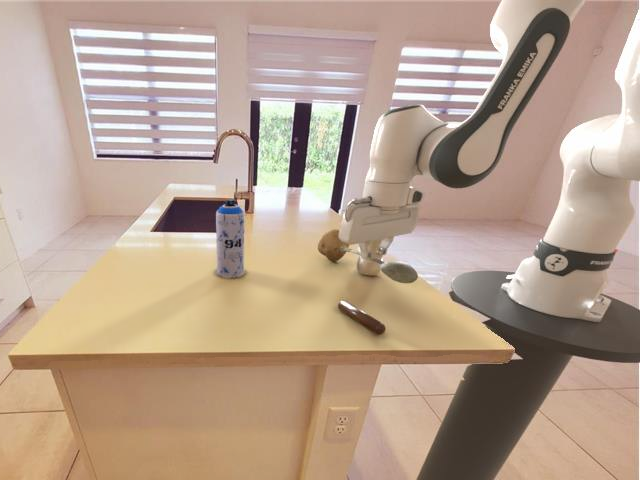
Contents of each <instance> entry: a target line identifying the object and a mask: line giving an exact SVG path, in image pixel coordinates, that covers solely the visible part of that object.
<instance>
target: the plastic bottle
mask: <svg viewBox="0 0 640 480" xmlns="http://www.w3.org/2000/svg"><path fill="white" fill-rule="evenodd" d="M382 240H383V239H378V240H373V241H371V242H370V245H369V246H368V249H369V251H371V252H372V253H371V255H370V256H371V257H374V258H376V259H379V260H381V261H383V257H384V255H383V256H379V255H377V254H376V251H377V247H379V246H380V244H381V242H382ZM380 266H381V264H379V263H377V262H375V261H373V260H371V259H365V260H364V259H362V258H360V256H359V257H358V258H357V262H356V270H357V272H359V273H360V274H362V275H365V276H377V275H378V274H379V273H380V272H382V271H381V269H380Z"/></svg>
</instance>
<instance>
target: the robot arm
mask: <svg viewBox="0 0 640 480" xmlns="http://www.w3.org/2000/svg"><path fill="white" fill-rule="evenodd" d="M586 2H587V0H501V1H500V3H499V5H498V7H497V8H496V10H495V13H494V16H493V17H492V20H491V23H490V27H489V28H490V29H489V32H490V38H491V42H492V43H493V45H494V47H495V48H496V50H498V51H499V52H501V53H502V54H503V59H502V62H501V65H500V67H499V69H498V70H497V72H496V74H495V75H494V77H493V78H492V80H491V82H490V84H489V86H488V87H487V89H486V90H485V92H484V94H483V96H482V97H481V99H480V101H479V102H478V104H477V106H476V107H475V110H474V111H473V112H472V113H471V114H470V115H469V117H467V118H466V119H465V120H464V121H462V122H461V123H459V124H449V122H446V121H443V120H441V119H440V118H438V117H436V116H434V115H433V114H432V113H430V112H429V111H428V110H427V109H426V107H425V106H424V105H423V104H412V105H411V104H410V105H407V106H402V107H396V108H392V109H389V110H387V111H385V112H384V113H382V114H381V116H380V117H379V119H378V121H377V123H376V126H375V129H374V133H373V137H372V141H371V146H370V152H369V169H368V171H367V174H366V176H365V181H364V188H363V191H362V197H359V198H358V197H357V198H353V199H351V201H349V202H348V204H346V206H345V210H344V213H343V215H342V219H341V221H340V227H339V229H338V230H339V239H340V241H342V242H344V243H346V244H349V246H351V245H357V244H358V247H359V250H360V255H359V257H360V258H362V259H364V260H365V259H369V258H371V256H370V255H371V253H372V252H371V251H369V249H368V246H369V245H370V242H371V241H373V240H378V239H383V240H382V242H381V244H380V246H379V247H377V251H376V254H377V255H379V256H383V257H384V256H386V255H387V253H388V249H389V247H390V246H391V245H392V243H393V241H394V238H395V237H398V236H404V235H408V234H412V233H413V231H414V230H415V229H416V227H417V224H418V220H419V217H420V214H421V204H420V203H422V202H423V201H424V200H425V195H426V194H425V192H424V191H423V190H420V189H418V188H415V187H413V186H412V183H413V179H414V177H415V176H422V177H424V178H427V179H429V180H432V181H436V182H438V183H439V184H442V185H443V186H445V187H447V188H451V189H466V188H470V187H473V186H474V185H476V184H478V183H480V182H481V181H483V180H484V179H486V178H487V177H488V176H489V175H490V174H491V173H492V172H493V171H494V170H495V168H496V167H497V165H498V163H500V160H501V158H502V156H503V154H504V150H505V148H506V144H507V142H508V140H509V137H510V135H511V133H512V131H513V128H515V125H516V124H517V122H518V120H519V118H520V117H521V115H522V114H523V112H524V111H525V109H526V108H527V106H528V104H529V103H530V101H531V100H532V98H533V97H534V95H535V93H536V91H537V90H538V89H539V87H540V86H541V84H542V82H543V81H544V79H545V78H546V76H547V75H548V72H549V71H550V70H551V68H552V66H553V65H554V63H555V61H556V59H557V58H558V56H559V54H560V53H561V51H562V49H563V47H564V45H565V43H566V41H567V39H568V36H569V33H570V31H571V30H570V29H571V24H572V22H573V20H574V19H575V18H576V16H577V15H578V13H579V12H580V11H581V9H582V7H583V6H584V4H585V3H586ZM614 80H615V82H616V84H617V85H618V86H619V88H620V90H621V96H622V99H621V100H622V101H621V112H620V113H614V114H608V115H604V116H600V117H597V118H594V119H591V120H589V121H585V122H584V123H581V124H580V125H578V126H576V127H575V128H573V129H572V130H571V131H570V132H569V133H568V134H567V135H566V136H565V138H564V139H563V141H562V142H561V145H560V148H559V157H560V160H561V163H562V165H563V175H562V177H563V179H562V185H561V192H560V197H559V201H558V204H557V207H556V210H555V213H554V215H553V217H552V219H551V222H550V224H549V225H548V227H547V230H546V231H545V234H544V236H543V237H542V238H541V239H540V240H539V241H538V243H537V244H536V246H535V250H534V252H533V254H532V255H533V256H531V257H528V258H525V259H523V260H522V261H521V262H520V264H519V266H518V268H517V269H516V271H515V275H509V276H507V279H509V278H513V279H512V280H511V282H510V283H504V284H503V285H502V286H501V288H502V289H503V290H505V291H506V292H507V293H508V295H509V297H510V298H511V299H513V300H514V301H516V302H517V303H519V304H521V305H523V306H525V307H528V308H530V309H533V310H536V311H539V312H542V313H546V314H550V315H554V316H559V317H565V318H576V319H583V320H587V321H592V322H600V321H601V320H602V318H603V316H604V314H605V312H606V311H607V309H608V307H609V305H610V303H611V300H610V299H608V298H606V297H604V296H602V295H600V294H601V293H602V294H603V291H604V290H605V288H606V287H607V285H608V283H609V281H610V279H609V275H608V272H607V270H608V269H609V268H610V266H611V264H612V263H613V262H614V259H615V256H616V254H617V253H618V249H617V247H618V245H619V243H620V242H621V240H622V239H623V237H624V235H625V233H626V232H627V230H628V228H629V227H630V225H631V224H632V221H633V220H634V218H635V216H636V215H635V214H636V212H635V207H634V205H633V204H632V202H631V197H630V190H631V184H632V181H635V182H640V9H639V10H638V12H637V15H636V17H635V20H634V23H633V25H632V27H631V31H630V33H629V35H628V38H627V41H626V43H625V46H624V48H623V51H622V54H621V56H620V59H619V62H618V64H617V67H616V69H615V75H614Z"/></svg>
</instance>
